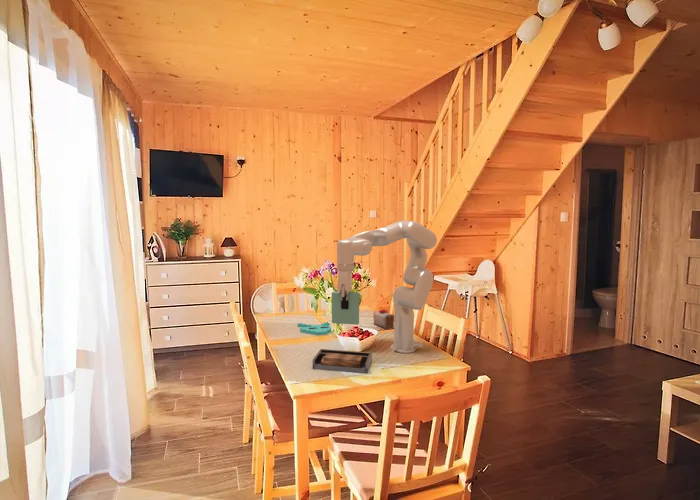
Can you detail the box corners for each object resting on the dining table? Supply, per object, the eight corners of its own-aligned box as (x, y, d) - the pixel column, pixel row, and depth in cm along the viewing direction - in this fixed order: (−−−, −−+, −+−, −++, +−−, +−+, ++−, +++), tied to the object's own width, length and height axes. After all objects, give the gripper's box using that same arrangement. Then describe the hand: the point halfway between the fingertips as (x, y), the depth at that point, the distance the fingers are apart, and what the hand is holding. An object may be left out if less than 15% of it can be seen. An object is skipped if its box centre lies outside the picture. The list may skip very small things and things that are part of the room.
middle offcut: (358, 361, 191) (359, 358, 190) (357, 366, 185) (357, 363, 185) (323, 359, 193) (323, 356, 193) (320, 364, 187) (320, 361, 187)
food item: (371, 324, 257) (371, 308, 256) (381, 322, 262) (382, 306, 260) (385, 330, 246) (385, 313, 245) (396, 327, 250) (396, 311, 249)
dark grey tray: (371, 363, 196) (371, 352, 195) (367, 375, 182) (367, 364, 181) (320, 359, 200) (320, 349, 200) (312, 371, 186) (312, 359, 186)
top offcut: (362, 359, 189) (362, 355, 189) (359, 364, 184) (359, 360, 183) (327, 356, 193) (327, 352, 193) (323, 360, 187) (323, 357, 187)
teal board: (359, 323, 193) (359, 292, 192) (358, 324, 191) (358, 293, 189) (333, 321, 195) (332, 291, 194) (331, 323, 193) (331, 292, 191)
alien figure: (297, 326, 252) (303, 337, 233) (297, 323, 252) (303, 333, 233) (330, 324, 258) (339, 334, 239) (330, 320, 258) (339, 330, 239)
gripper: (340, 264, 199) (341, 303, 201) (333, 270, 183) (333, 312, 185) (356, 264, 197) (356, 304, 200) (350, 270, 182) (350, 313, 184)
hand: (345, 307), depth 192 cm, fingers closed on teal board, 2 cm apart
